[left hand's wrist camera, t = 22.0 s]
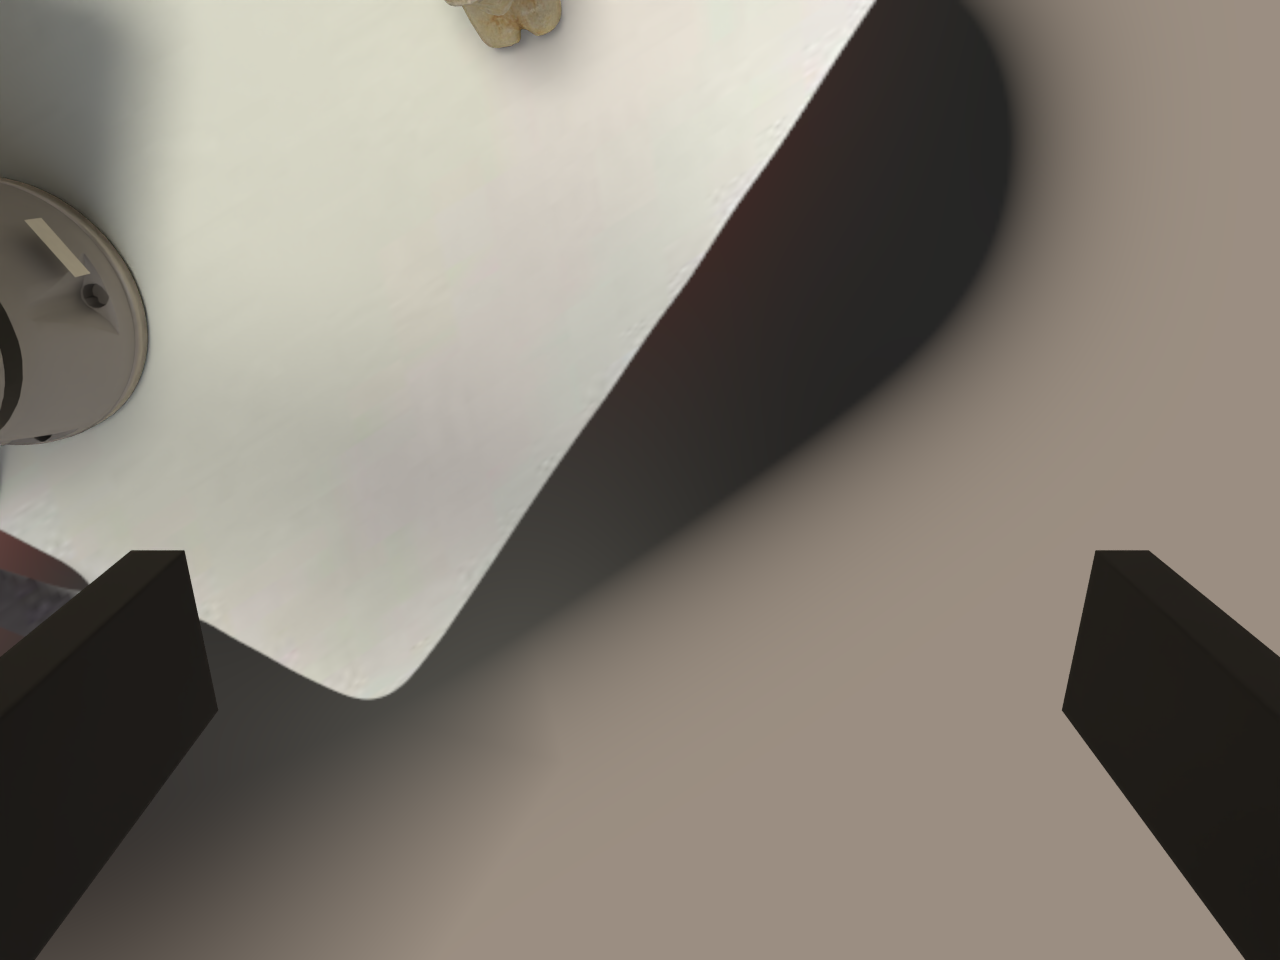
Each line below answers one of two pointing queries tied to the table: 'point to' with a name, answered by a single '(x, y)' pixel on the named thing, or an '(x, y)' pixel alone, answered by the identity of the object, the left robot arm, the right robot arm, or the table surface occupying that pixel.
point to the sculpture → (510, 18)
